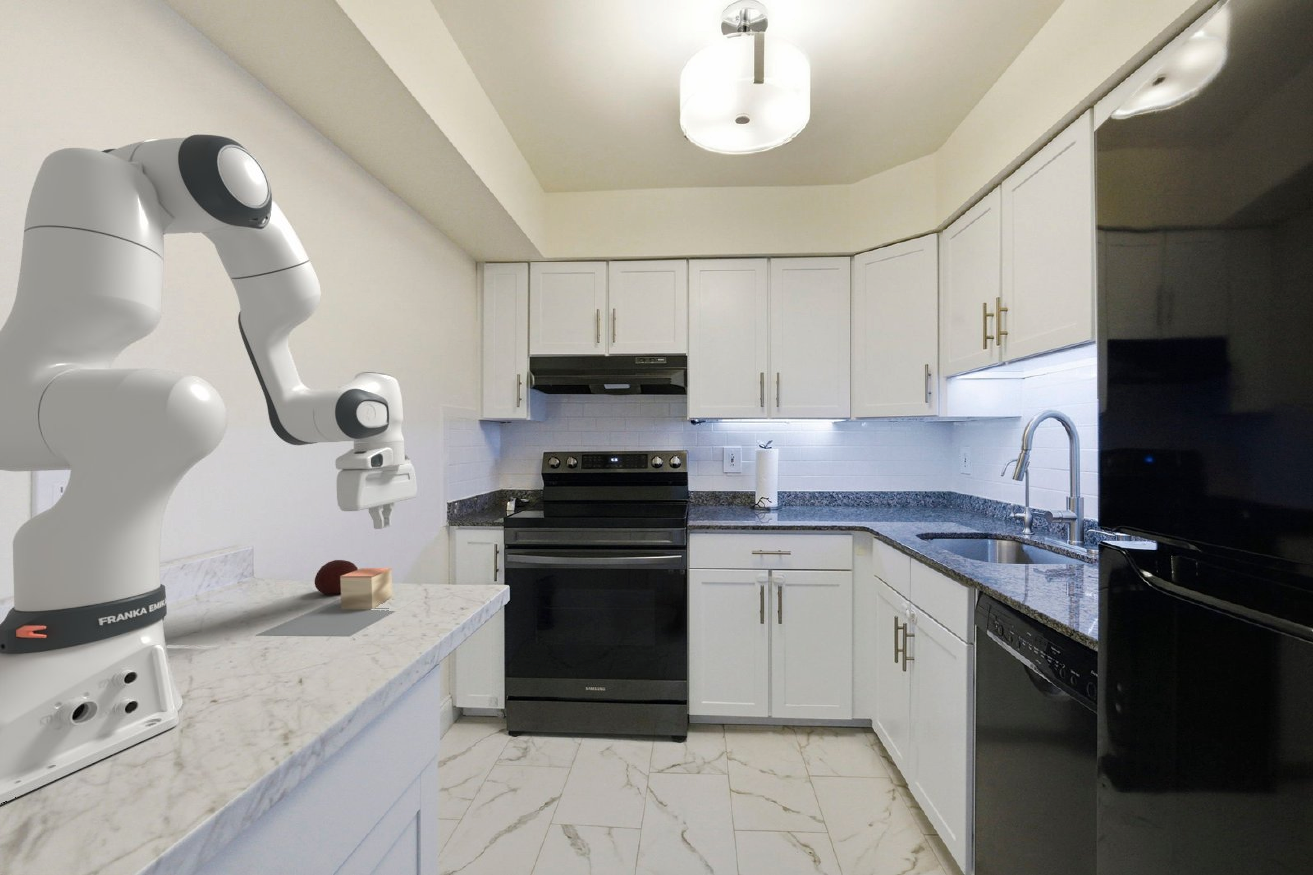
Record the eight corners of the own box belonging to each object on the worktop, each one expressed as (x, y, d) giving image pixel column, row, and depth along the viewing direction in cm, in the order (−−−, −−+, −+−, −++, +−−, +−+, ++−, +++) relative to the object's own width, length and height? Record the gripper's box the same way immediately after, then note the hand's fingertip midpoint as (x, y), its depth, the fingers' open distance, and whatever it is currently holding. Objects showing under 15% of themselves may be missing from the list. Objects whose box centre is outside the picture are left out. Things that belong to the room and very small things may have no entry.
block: (372, 609, 97) (371, 576, 97) (341, 609, 98) (340, 576, 98) (392, 599, 103) (391, 568, 103) (362, 599, 104) (361, 568, 104)
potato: (361, 595, 109) (360, 560, 109) (315, 602, 105) (314, 566, 105) (357, 587, 115) (356, 554, 115) (314, 594, 111) (313, 560, 111)
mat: (349, 639, 84) (349, 636, 84) (255, 638, 86) (255, 635, 86) (417, 602, 103) (417, 599, 103) (338, 602, 105) (338, 599, 105)
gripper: (395, 454, 117) (398, 519, 117) (328, 460, 96) (331, 538, 96) (423, 454, 116) (425, 518, 116) (361, 459, 96) (364, 537, 96)
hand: (382, 527), depth 106 cm, fingers closed
